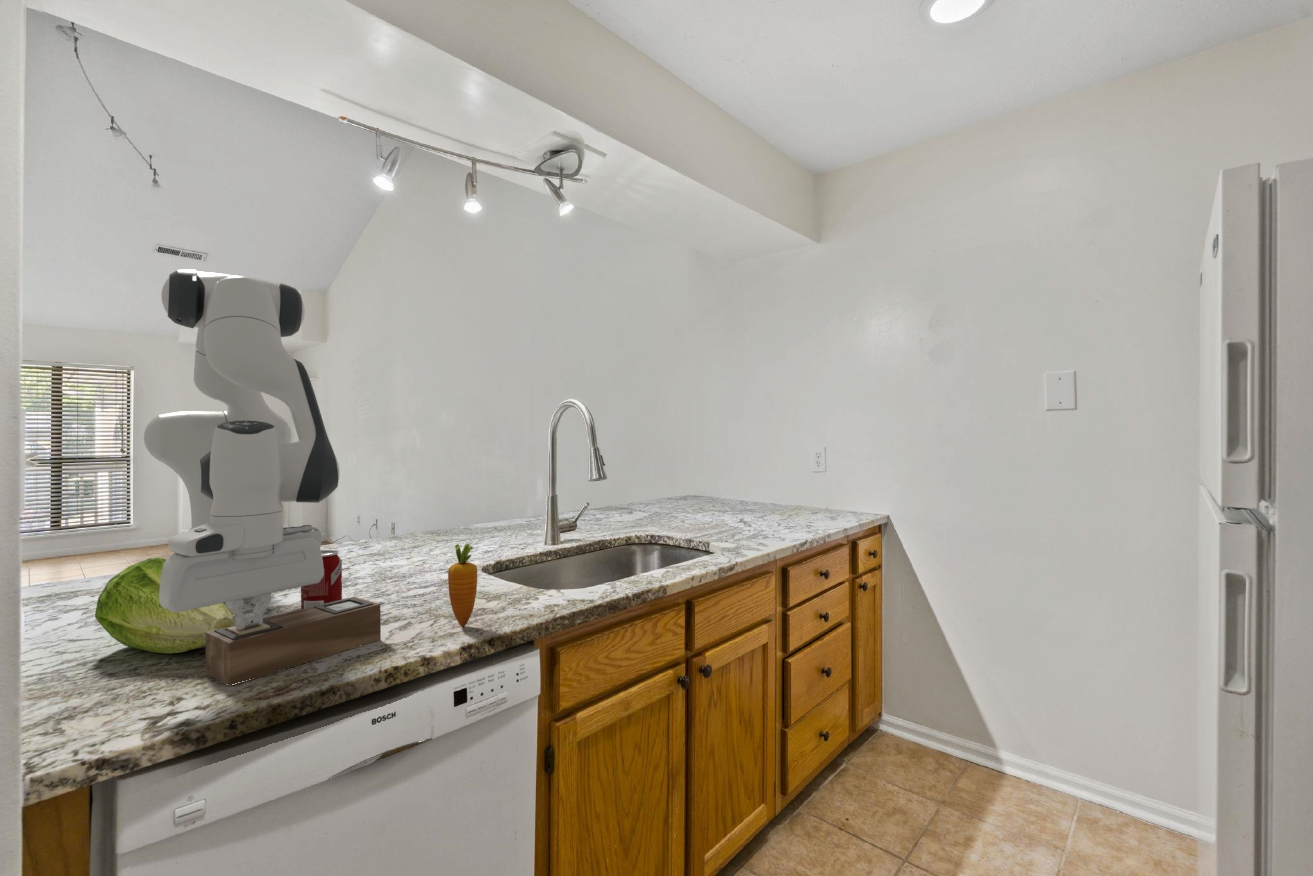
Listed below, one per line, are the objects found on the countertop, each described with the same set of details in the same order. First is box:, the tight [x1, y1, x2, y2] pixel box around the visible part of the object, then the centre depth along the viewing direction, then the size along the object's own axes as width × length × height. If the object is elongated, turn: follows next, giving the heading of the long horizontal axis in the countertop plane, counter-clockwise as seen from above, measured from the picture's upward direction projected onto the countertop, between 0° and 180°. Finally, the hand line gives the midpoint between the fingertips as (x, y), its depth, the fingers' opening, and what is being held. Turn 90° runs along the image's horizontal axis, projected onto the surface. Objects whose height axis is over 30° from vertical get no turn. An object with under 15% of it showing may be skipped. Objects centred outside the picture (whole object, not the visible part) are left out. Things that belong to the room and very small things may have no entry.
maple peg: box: [227, 623, 270, 636], centre depth 88 cm, size 4×4×6 cm
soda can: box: [300, 549, 343, 609], centre depth 114 cm, size 7×7×12 cm
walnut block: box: [205, 596, 382, 686], centre depth 94 cm, size 8×22×6 cm, turn 146°
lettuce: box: [94, 557, 235, 654], centre depth 96 cm, size 14×24×15 cm
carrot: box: [447, 543, 478, 628], centre depth 107 cm, size 5×5×15 cm
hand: (249, 627), depth 88 cm, fingers closed, pressing on maple peg
